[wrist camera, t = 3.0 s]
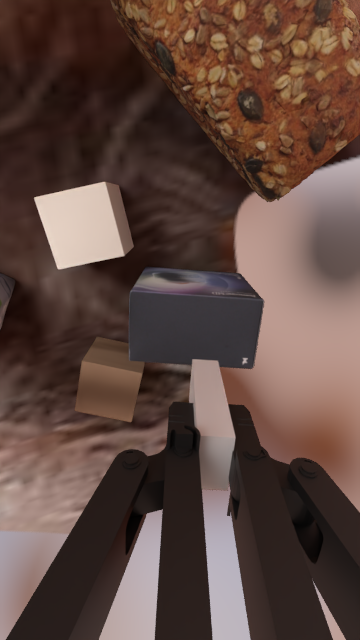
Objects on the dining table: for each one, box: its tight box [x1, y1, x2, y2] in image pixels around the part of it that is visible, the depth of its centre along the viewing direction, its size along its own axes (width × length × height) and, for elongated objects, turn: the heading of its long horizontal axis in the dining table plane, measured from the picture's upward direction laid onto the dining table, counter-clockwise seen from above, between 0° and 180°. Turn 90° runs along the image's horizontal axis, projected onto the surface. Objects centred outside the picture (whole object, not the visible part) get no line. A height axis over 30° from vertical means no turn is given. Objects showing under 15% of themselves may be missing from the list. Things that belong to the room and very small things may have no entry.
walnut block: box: [75, 337, 145, 422], centre depth 35 cm, size 6×6×6 cm
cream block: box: [34, 182, 134, 269], centre depth 29 cm, size 6×6×6 cm
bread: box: [111, 0, 360, 202], centre depth 23 cm, size 19×11×10 cm, turn 43°
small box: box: [129, 267, 264, 369], centre depth 30 cm, size 11×6×10 cm, turn 86°
